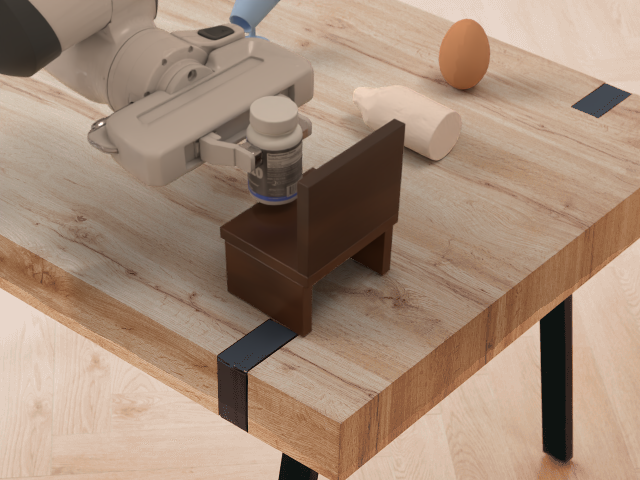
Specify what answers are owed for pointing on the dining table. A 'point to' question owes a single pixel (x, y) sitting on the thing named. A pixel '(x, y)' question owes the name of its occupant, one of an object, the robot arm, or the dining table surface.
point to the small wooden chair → (318, 229)
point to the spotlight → (251, 14)
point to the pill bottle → (275, 150)
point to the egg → (464, 54)
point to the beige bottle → (411, 118)
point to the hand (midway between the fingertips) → (282, 146)
